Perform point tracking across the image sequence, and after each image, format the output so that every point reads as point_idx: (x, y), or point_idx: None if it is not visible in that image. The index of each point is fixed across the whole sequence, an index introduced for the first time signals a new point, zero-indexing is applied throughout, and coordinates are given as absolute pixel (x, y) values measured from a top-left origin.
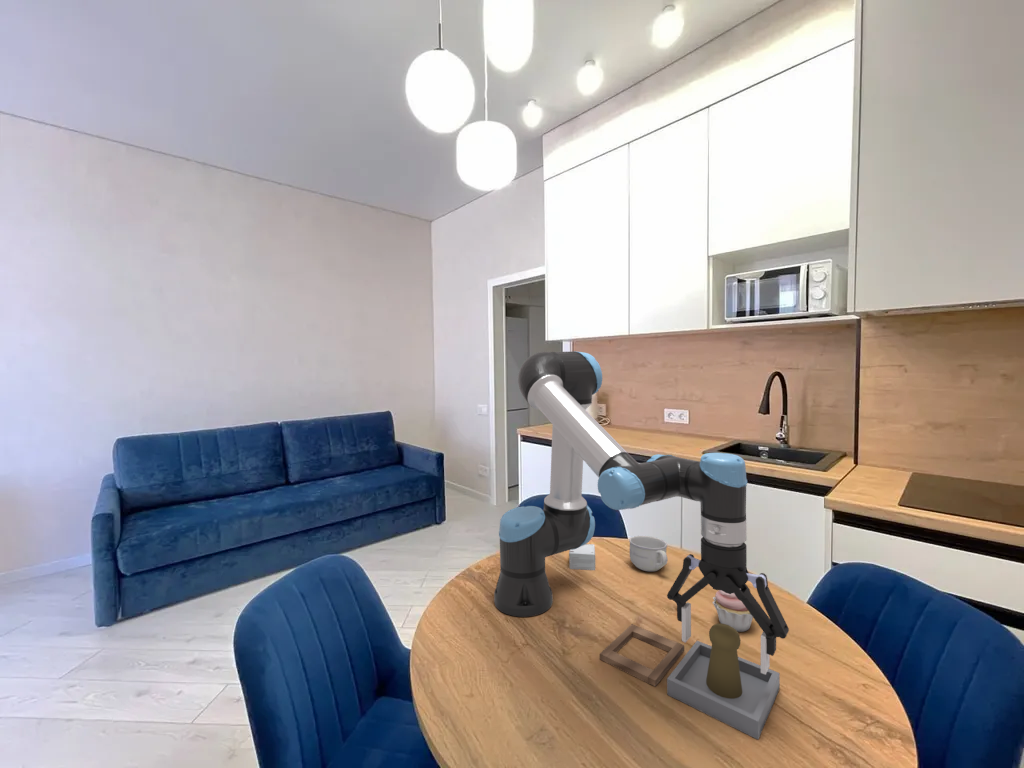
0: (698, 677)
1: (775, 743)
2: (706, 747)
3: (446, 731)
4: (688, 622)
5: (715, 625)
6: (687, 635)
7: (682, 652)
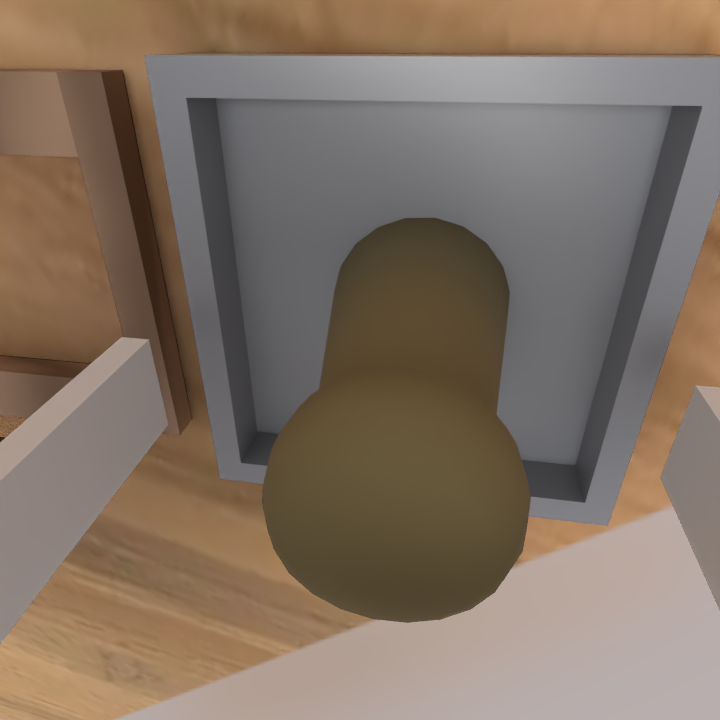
0: (298, 311)
1: (654, 455)
2: None
3: (6, 709)
4: (83, 462)
5: (294, 541)
6: (144, 421)
7: (127, 103)
